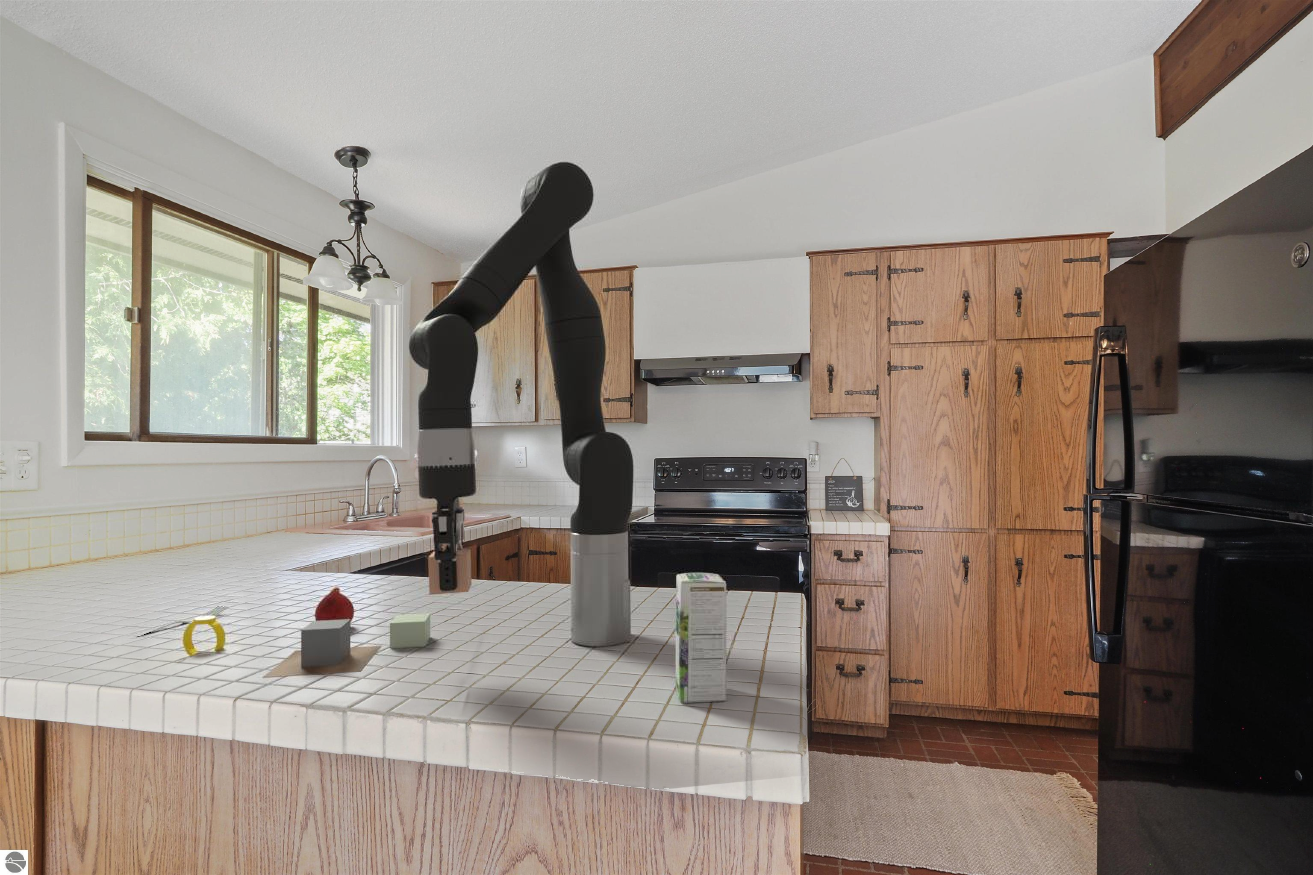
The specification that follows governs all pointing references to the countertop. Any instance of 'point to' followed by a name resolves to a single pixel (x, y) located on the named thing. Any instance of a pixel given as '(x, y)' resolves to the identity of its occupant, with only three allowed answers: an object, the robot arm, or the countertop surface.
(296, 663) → the walnut board
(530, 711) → the countertop surface
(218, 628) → the watch
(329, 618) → the onion
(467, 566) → the terracotta brick
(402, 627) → the sage brick
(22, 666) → the countertop surface
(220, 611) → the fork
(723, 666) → the syrup box
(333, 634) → the charcoal brick
